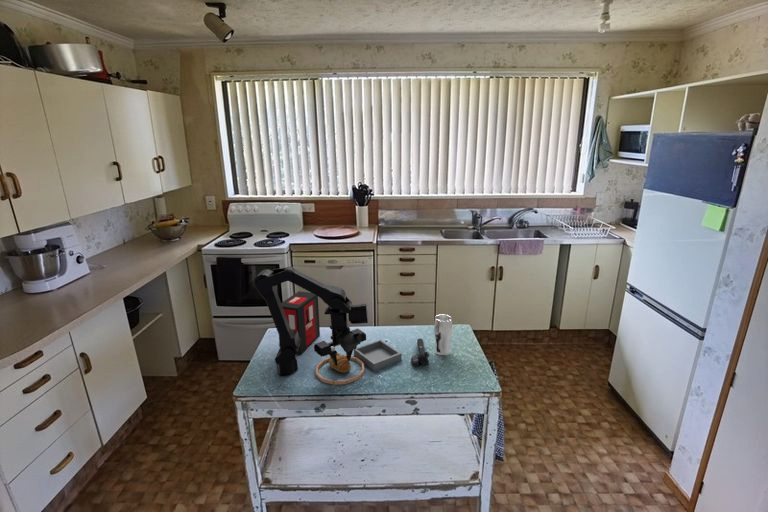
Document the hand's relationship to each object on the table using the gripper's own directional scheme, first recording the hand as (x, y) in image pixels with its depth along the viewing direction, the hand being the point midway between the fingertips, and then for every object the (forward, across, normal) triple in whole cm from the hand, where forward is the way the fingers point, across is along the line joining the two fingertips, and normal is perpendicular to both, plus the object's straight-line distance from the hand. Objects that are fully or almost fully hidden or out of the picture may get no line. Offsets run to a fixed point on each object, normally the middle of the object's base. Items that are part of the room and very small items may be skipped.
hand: (342, 362), depth 142 cm
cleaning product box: (+3, -4, +27) cm, 28 cm away
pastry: (+4, -2, 0) cm, 4 cm away
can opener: (+4, +29, -10) cm, 31 cm away
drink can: (+5, +38, -13) cm, 40 cm away
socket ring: (+3, -1, 0) cm, 3 cm away
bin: (+4, +15, -1) cm, 15 cm away
